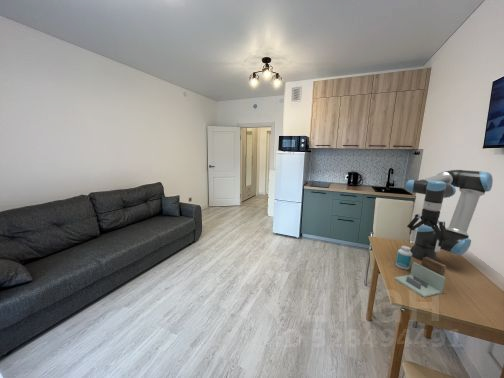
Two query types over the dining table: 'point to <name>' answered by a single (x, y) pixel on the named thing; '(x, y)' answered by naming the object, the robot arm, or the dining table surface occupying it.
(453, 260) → the dining table surface
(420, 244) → the robot arm
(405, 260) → the pill bottle
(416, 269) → the pale green l-shaped piece
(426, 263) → the door panel
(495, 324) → the dining table surface
